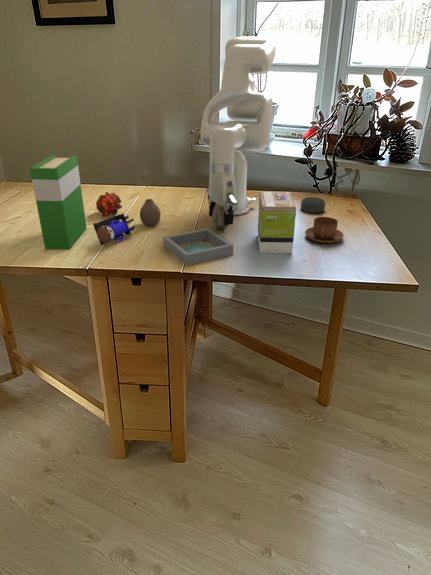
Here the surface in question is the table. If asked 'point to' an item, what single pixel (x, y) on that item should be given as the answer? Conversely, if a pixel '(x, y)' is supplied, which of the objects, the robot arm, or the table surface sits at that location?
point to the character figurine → (113, 228)
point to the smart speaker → (313, 205)
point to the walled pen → (198, 246)
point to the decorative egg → (218, 217)
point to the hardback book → (59, 201)
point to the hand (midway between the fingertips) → (220, 220)
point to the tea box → (276, 222)
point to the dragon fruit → (108, 204)
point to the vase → (150, 213)
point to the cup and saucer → (324, 230)
